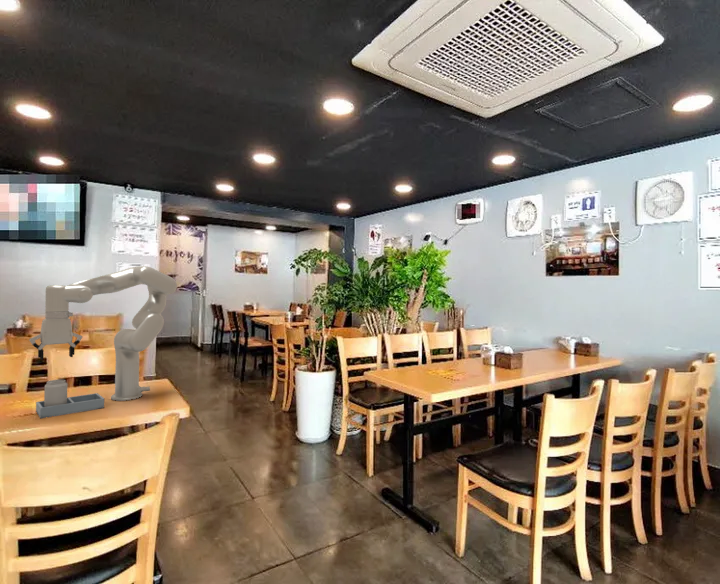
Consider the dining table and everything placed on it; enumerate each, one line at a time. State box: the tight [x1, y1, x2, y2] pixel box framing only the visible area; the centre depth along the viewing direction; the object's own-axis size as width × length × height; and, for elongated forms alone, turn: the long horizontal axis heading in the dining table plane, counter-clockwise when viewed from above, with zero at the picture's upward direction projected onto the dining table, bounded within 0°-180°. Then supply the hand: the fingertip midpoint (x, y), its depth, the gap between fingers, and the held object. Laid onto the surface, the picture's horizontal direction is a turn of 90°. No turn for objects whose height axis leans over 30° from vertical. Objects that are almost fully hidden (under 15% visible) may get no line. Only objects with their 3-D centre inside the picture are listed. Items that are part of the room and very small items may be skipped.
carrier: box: [35, 392, 105, 419], centre depth 169 cm, size 21×11×4 cm, turn 135°
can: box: [43, 379, 68, 407], centre depth 165 cm, size 8×8×12 cm
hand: (56, 358), depth 165 cm, fingers open, 9 cm apart
